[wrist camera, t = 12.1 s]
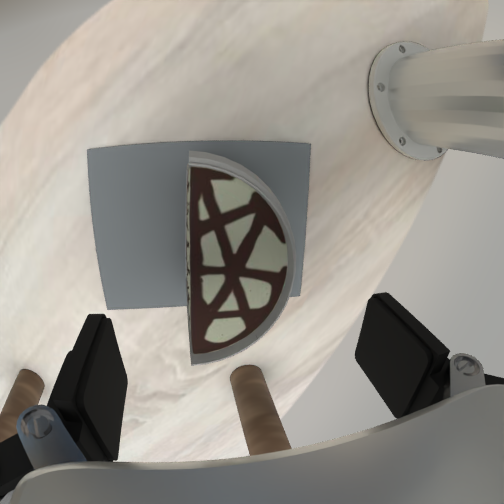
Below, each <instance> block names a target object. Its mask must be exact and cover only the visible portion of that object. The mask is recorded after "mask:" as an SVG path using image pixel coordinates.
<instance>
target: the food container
mask: <svg viewBox="0 0 504 504" xmlns="http://www.w3.org/2000/svg"><path fill="white" fill-rule="evenodd" d="M185 264H186V295H187V313H188V328H189V342H190V356H191V366H194V365H203V364H209V363H213V362H217V361H221V360H224V359H226V358H229V357H232V356H234V355H236V354H238V353H240V352H242V351H243V350H245V349H247V348H249V347H250V346H251V345H253V344H254V343H255V342H257V341H258V340H259V339H261V338H262V337H263V336H264V335H265V334H266V333H267V332H268V331H269V330H270V329H271V327H272V326H273V325H274V324H275V322H276V321H277V320H278V319H279V317H280V315H281V313H282V312H283V310H284V308H285V307H286V304H287V302H288V299H289V297H290V294H291V292H292V287H293V282H294V278H295V273H296V248H295V240H294V236H293V233H292V230H291V226H290V223H289V221H288V218H287V216H286V214H285V212H284V210H283V208H282V206H281V204H280V202H279V200H278V199H277V197H276V196H275V195H274V193H273V192H272V191H271V189H270V188H269V187H268V186H267V185H266V184H265V183H264V182H263V181H262V180H261V179H260V178H259V177H258V176H257V175H256V174H254V173H253V172H251V171H250V170H248V169H247V168H245V167H244V166H242V165H241V164H239V163H236V162H234V161H232V160H230V159H228V158H225V157H222V156H219V155H215V154H211V153H207V152H199V151H189V163H188V165H187V170H186V210H185Z"/></svg>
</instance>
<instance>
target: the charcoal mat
mask: <svg viewBox="0 0 504 504" xmlns="http://www.w3.org/2000/svg"><path fill="white" fill-rule="evenodd" d="M310 150H311V144H308V143H293V142H272V141H184V142H163V143H147V144H135V145H123V146H113V147H104V148H96V149H88V150H87V159H88V178H89V192H90V203H91V213H92V222H93V230H94V238H95V245H96V252H97V258H98V264H99V270H100V276H101V281H102V286H103V291H104V296H105V301H106V306H107V310H115V309H139V308H160V307H177V306H187V295H186V264H185V210H186V170H187V165H188V163H189V151H199V152H207V153H211V154H215V155H219V156H222V157H225V158H228V159H230V160H232V161H234V162H236V163H239V164H241V165H242V166H244V167H245V168H247V169H248V170H250V171H251V172H253V173H254V174H256V175H257V176H258V177H259V178H260V179H261V180H262V181H263V182H264V183H265V184H266V185H267V186H268V187H269V188H270V189H271V191H272V192H273V193H274V195H275V196H276V197H277V199H278V200H279V202H280V204H281V206H282V208H283V210H284V212H285V214H286V216H287V218H288V221H289V223H290V226H291V230H292V233H293V236H294V240H295V248H296V273H295V278H294V282H293V287H292V292H291V294H290V297H295V296H300V291H301V281H302V270H303V259H304V247H305V235H306V221H307V206H308V190H309V172H310Z"/></svg>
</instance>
